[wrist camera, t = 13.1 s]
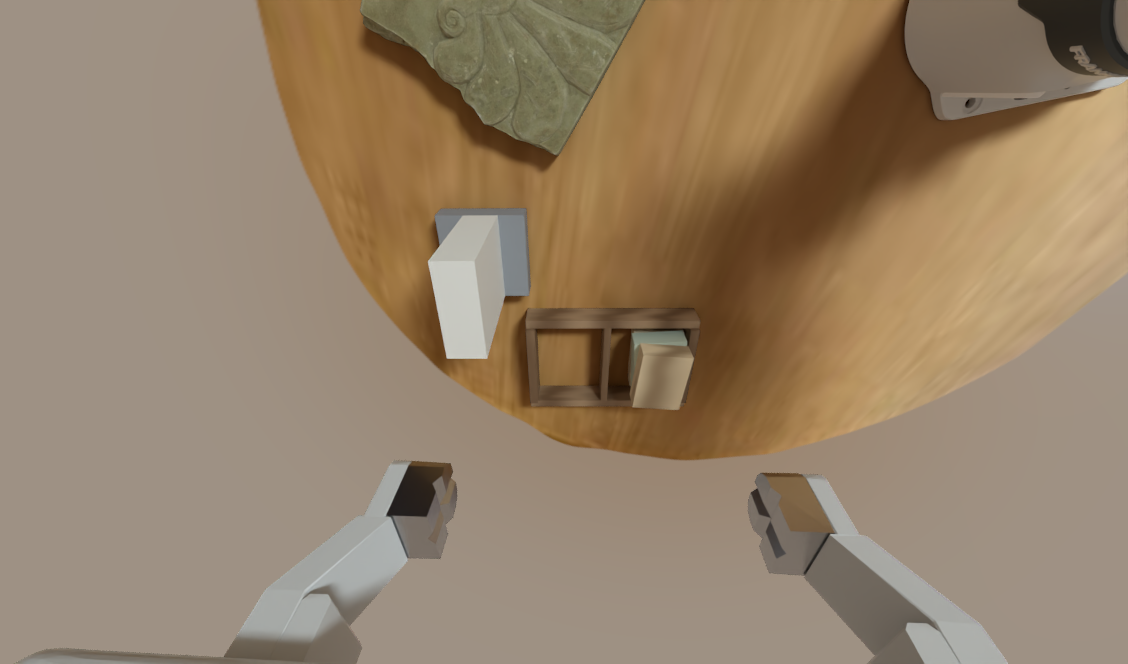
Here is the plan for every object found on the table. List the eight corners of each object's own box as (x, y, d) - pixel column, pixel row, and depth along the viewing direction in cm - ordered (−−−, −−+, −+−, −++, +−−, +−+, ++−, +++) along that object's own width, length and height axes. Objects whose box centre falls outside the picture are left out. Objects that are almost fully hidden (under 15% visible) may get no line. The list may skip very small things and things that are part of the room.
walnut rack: (693, 308, 49) (701, 323, 46) (678, 391, 56) (684, 409, 53) (527, 308, 49) (525, 323, 46) (532, 391, 56) (530, 408, 53)
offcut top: (688, 346, 47) (694, 358, 45) (674, 396, 51) (678, 410, 49) (640, 343, 47) (643, 355, 45) (629, 394, 51) (632, 407, 49)
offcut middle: (682, 330, 48) (687, 341, 46) (677, 382, 53) (681, 395, 51) (631, 333, 49) (634, 344, 47) (630, 385, 53) (633, 397, 51)
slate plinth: (526, 208, 43) (524, 215, 41) (530, 286, 48) (528, 295, 45) (441, 208, 43) (434, 215, 41) (453, 286, 48) (448, 295, 46)
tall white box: (497, 215, 41) (474, 261, 31) (505, 295, 46) (487, 358, 35) (462, 215, 41) (427, 261, 31) (473, 295, 46) (447, 358, 35)
